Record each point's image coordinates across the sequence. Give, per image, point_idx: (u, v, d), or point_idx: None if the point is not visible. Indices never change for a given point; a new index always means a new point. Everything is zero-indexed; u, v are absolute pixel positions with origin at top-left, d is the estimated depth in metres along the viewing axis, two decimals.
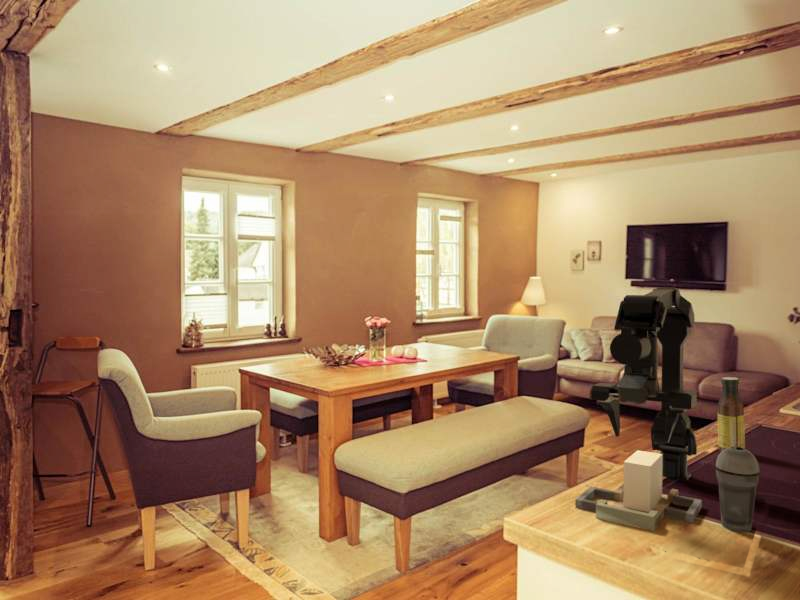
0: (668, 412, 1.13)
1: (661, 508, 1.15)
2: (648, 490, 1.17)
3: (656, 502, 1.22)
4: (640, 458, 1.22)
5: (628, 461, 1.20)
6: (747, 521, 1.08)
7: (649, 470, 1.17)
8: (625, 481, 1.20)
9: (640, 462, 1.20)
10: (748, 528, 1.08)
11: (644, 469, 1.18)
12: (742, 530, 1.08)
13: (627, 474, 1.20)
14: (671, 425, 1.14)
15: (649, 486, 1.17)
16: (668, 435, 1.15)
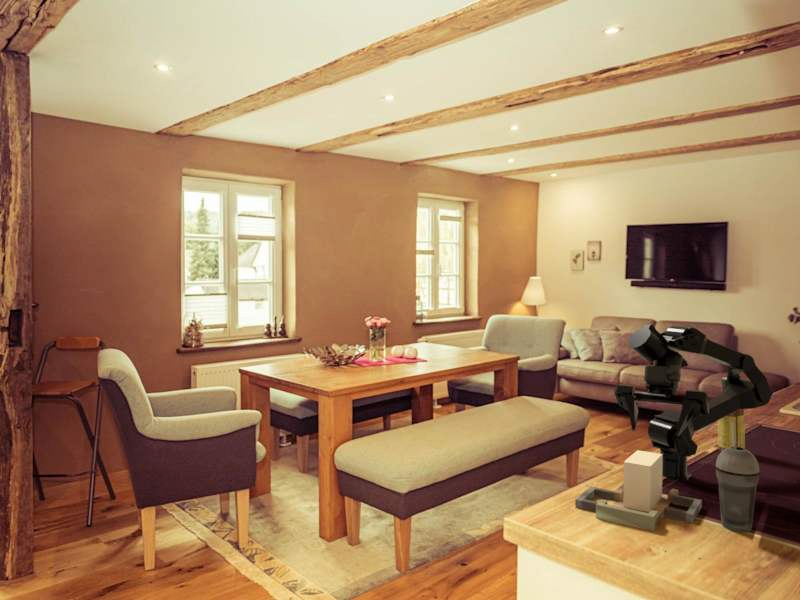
0: (684, 403, 1.28)
1: (661, 508, 1.15)
2: (648, 490, 1.17)
3: (656, 502, 1.22)
4: (640, 458, 1.22)
5: (628, 461, 1.20)
6: (747, 521, 1.08)
7: (649, 470, 1.17)
8: (625, 481, 1.20)
9: (640, 462, 1.20)
10: (748, 528, 1.08)
11: (644, 469, 1.18)
12: (742, 530, 1.08)
13: (627, 474, 1.20)
14: (684, 417, 1.27)
15: (649, 486, 1.17)
16: (680, 426, 1.27)
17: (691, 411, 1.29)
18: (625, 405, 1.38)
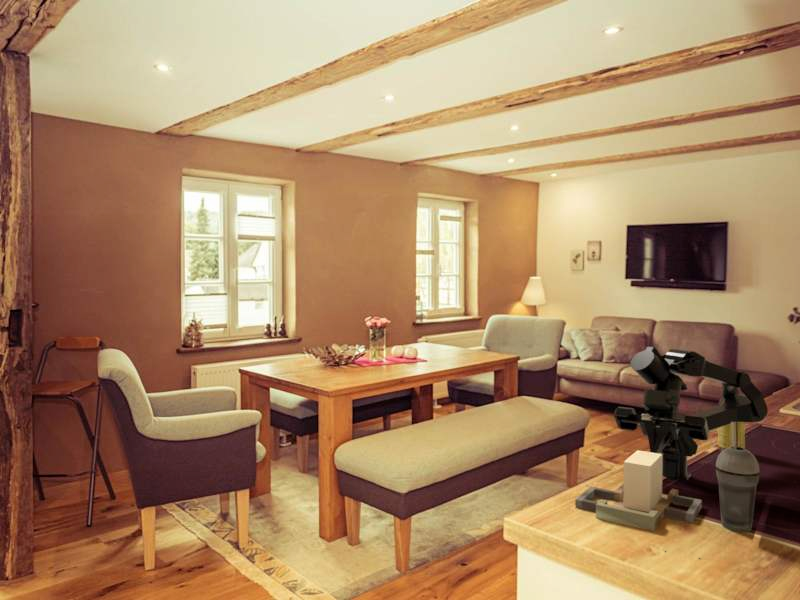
0: (661, 425, 1.31)
1: (661, 508, 1.15)
2: (648, 490, 1.17)
3: (656, 502, 1.22)
4: (640, 458, 1.22)
5: (628, 461, 1.20)
6: (747, 521, 1.08)
7: (649, 470, 1.17)
8: (625, 481, 1.20)
9: (640, 462, 1.20)
10: (748, 528, 1.08)
11: (644, 469, 1.18)
12: (742, 530, 1.08)
13: (627, 474, 1.20)
14: (661, 439, 1.30)
15: (649, 486, 1.17)
16: (657, 448, 1.29)
17: (668, 433, 1.32)
18: (644, 430, 1.35)
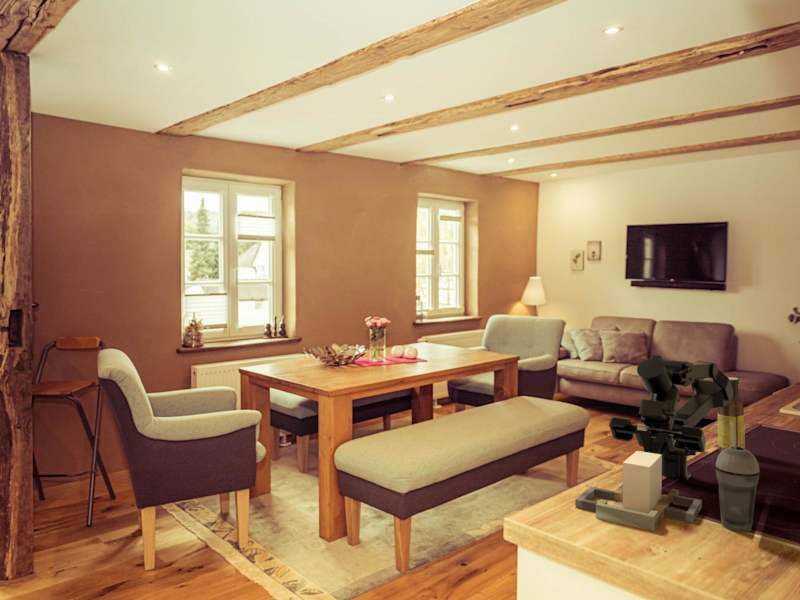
0: (657, 436, 1.28)
1: (661, 508, 1.15)
2: (647, 491, 1.17)
3: (655, 503, 1.21)
4: (640, 459, 1.22)
5: (627, 462, 1.20)
6: (747, 521, 1.08)
7: (649, 470, 1.17)
8: (624, 482, 1.19)
9: (639, 463, 1.19)
10: (748, 528, 1.08)
11: (643, 469, 1.17)
12: (742, 530, 1.08)
13: (626, 475, 1.19)
14: (657, 450, 1.27)
15: (648, 487, 1.17)
16: None
17: (665, 444, 1.29)
18: (640, 441, 1.32)
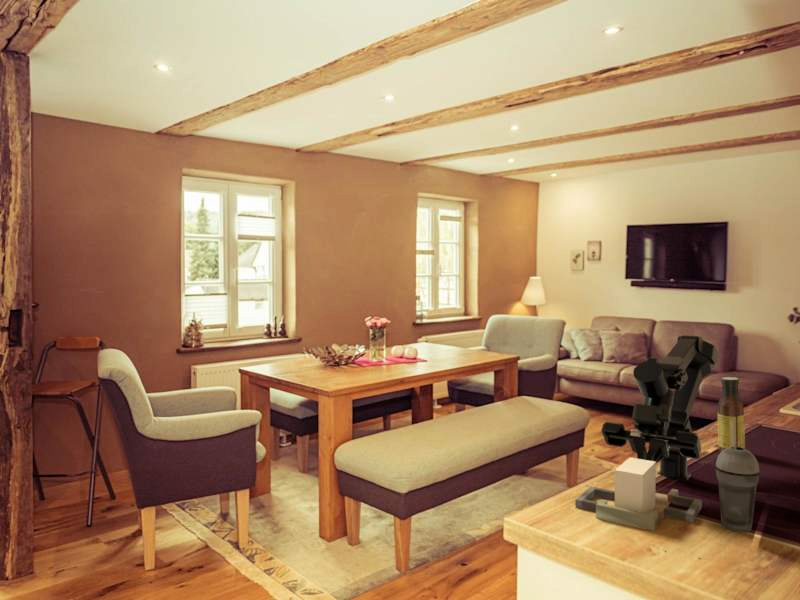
0: (651, 442, 1.23)
1: (661, 508, 1.15)
2: (640, 500, 1.12)
3: None
4: (632, 466, 1.17)
5: (619, 469, 1.15)
6: (747, 521, 1.08)
7: (642, 478, 1.12)
8: (616, 490, 1.15)
9: (632, 470, 1.14)
10: (748, 528, 1.08)
11: (636, 477, 1.13)
12: (742, 530, 1.08)
13: (618, 483, 1.15)
14: (651, 457, 1.22)
15: (641, 495, 1.12)
16: None
17: (659, 450, 1.25)
18: (633, 447, 1.28)
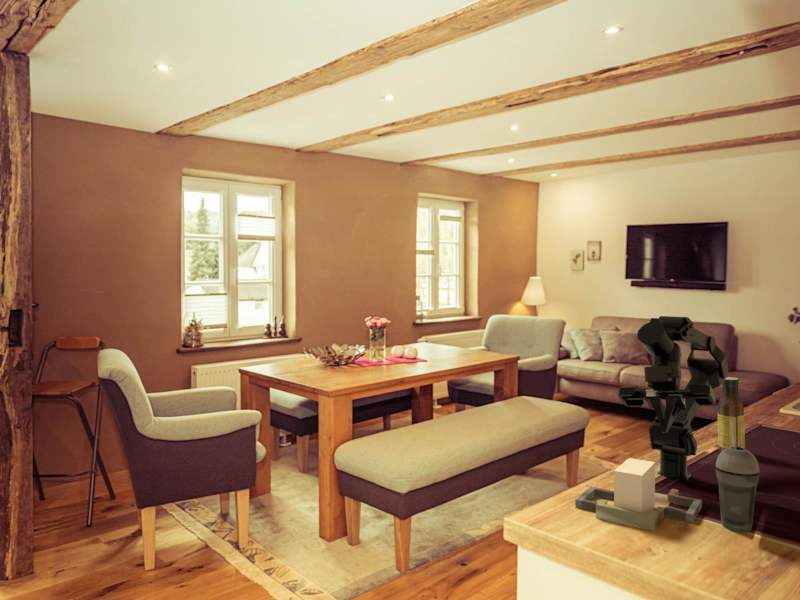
0: (667, 399, 1.29)
1: (661, 508, 1.15)
2: (640, 500, 1.12)
3: None
4: (632, 467, 1.17)
5: (619, 470, 1.15)
6: (747, 521, 1.08)
7: (641, 479, 1.12)
8: (616, 491, 1.14)
9: (631, 471, 1.14)
10: (748, 528, 1.08)
11: (635, 478, 1.12)
12: (742, 530, 1.08)
13: (617, 484, 1.14)
14: (669, 413, 1.28)
15: (641, 496, 1.12)
16: (666, 423, 1.28)
17: (676, 405, 1.30)
18: (651, 405, 1.33)
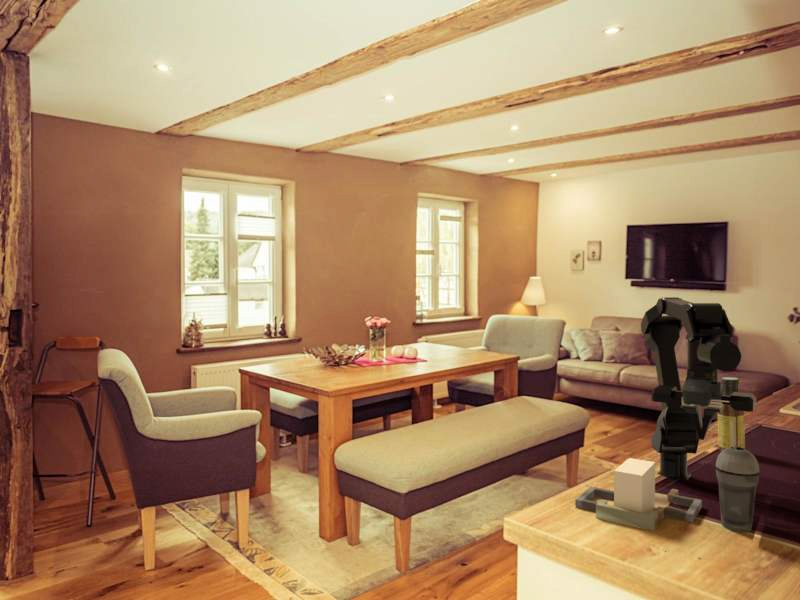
0: (705, 411, 1.22)
1: (661, 508, 1.15)
2: (640, 500, 1.12)
3: None
4: (632, 467, 1.17)
5: (619, 470, 1.15)
6: (747, 521, 1.08)
7: (641, 479, 1.12)
8: (616, 491, 1.14)
9: (631, 471, 1.14)
10: (748, 528, 1.08)
11: (635, 478, 1.12)
12: (742, 530, 1.08)
13: (617, 484, 1.14)
14: (707, 423, 1.23)
15: (641, 496, 1.12)
16: (704, 432, 1.24)
17: None
18: None
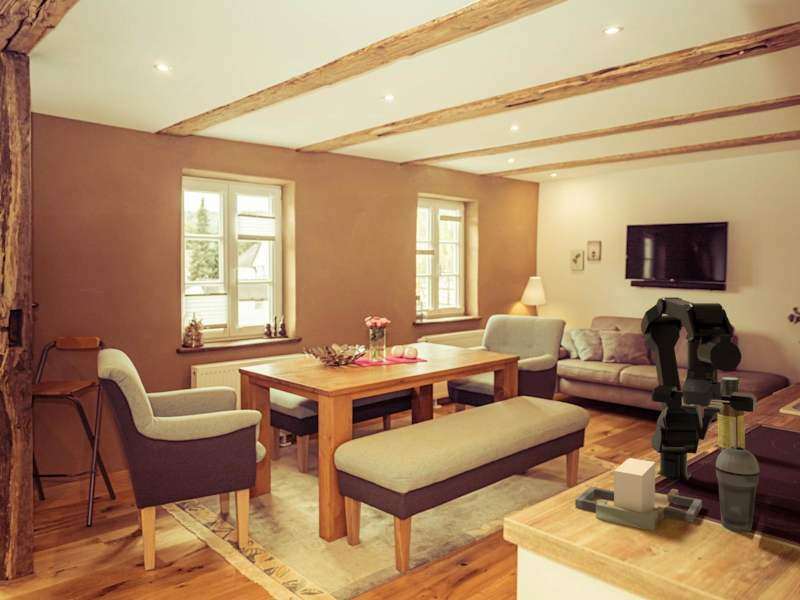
0: (705, 411, 1.22)
1: (661, 508, 1.15)
2: (640, 500, 1.12)
3: None
4: (632, 467, 1.17)
5: (619, 470, 1.15)
6: (747, 521, 1.08)
7: (641, 479, 1.12)
8: (616, 491, 1.14)
9: (631, 471, 1.14)
10: (748, 528, 1.08)
11: (635, 478, 1.12)
12: (742, 530, 1.08)
13: (617, 484, 1.14)
14: (707, 423, 1.23)
15: (641, 496, 1.12)
16: (704, 432, 1.24)
17: None
18: None
